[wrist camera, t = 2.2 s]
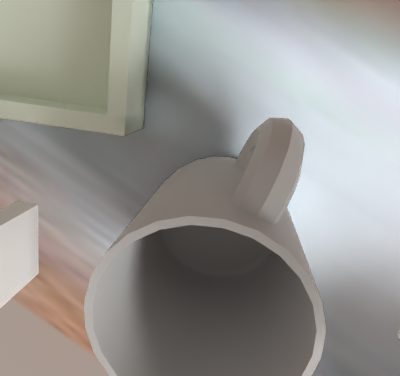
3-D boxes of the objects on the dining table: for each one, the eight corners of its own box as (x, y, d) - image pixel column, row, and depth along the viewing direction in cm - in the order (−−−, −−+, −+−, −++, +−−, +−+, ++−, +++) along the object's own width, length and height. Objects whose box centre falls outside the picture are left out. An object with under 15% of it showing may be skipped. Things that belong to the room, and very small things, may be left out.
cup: (134, 244, 20) (54, 362, 11) (210, 77, 17) (178, 69, 8) (247, 298, 20) (251, 456, 12) (343, 143, 17) (444, 202, 8)
